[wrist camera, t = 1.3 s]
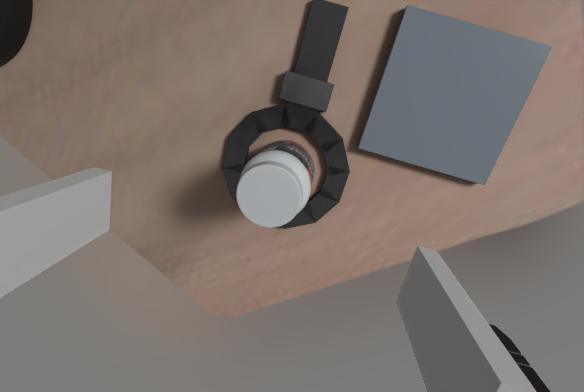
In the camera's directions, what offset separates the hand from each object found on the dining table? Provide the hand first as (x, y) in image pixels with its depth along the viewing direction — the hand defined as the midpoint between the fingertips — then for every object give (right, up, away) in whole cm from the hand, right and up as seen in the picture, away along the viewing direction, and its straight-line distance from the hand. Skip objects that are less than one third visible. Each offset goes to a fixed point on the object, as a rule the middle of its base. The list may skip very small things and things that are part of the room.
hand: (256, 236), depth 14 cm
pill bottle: (+1, +5, +19) cm, 19 cm away
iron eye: (+2, +9, +17) cm, 19 cm away
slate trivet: (+15, +10, +15) cm, 24 cm away
